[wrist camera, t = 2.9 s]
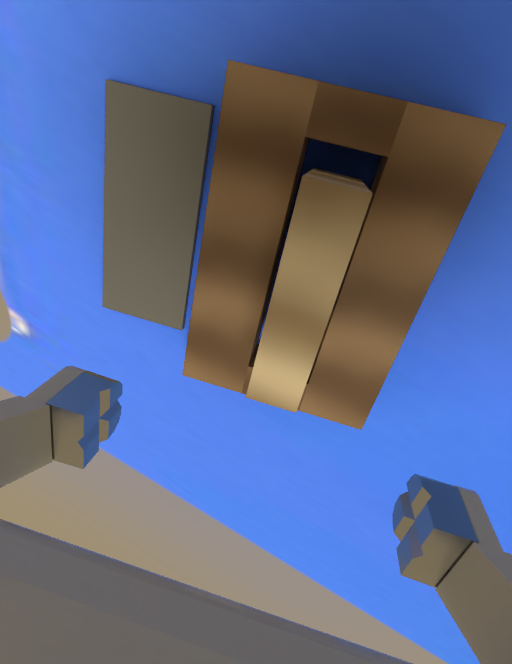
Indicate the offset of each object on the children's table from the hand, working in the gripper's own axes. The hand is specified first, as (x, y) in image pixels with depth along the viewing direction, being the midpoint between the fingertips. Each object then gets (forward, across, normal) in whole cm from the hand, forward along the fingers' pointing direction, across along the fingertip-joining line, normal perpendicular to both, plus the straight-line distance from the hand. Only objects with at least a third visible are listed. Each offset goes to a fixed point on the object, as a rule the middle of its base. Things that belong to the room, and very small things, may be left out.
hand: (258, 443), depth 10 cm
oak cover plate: (+18, 0, 0) cm, 18 cm away
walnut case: (+18, 0, 0) cm, 18 cm away
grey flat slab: (+18, +12, 0) cm, 22 cm away
